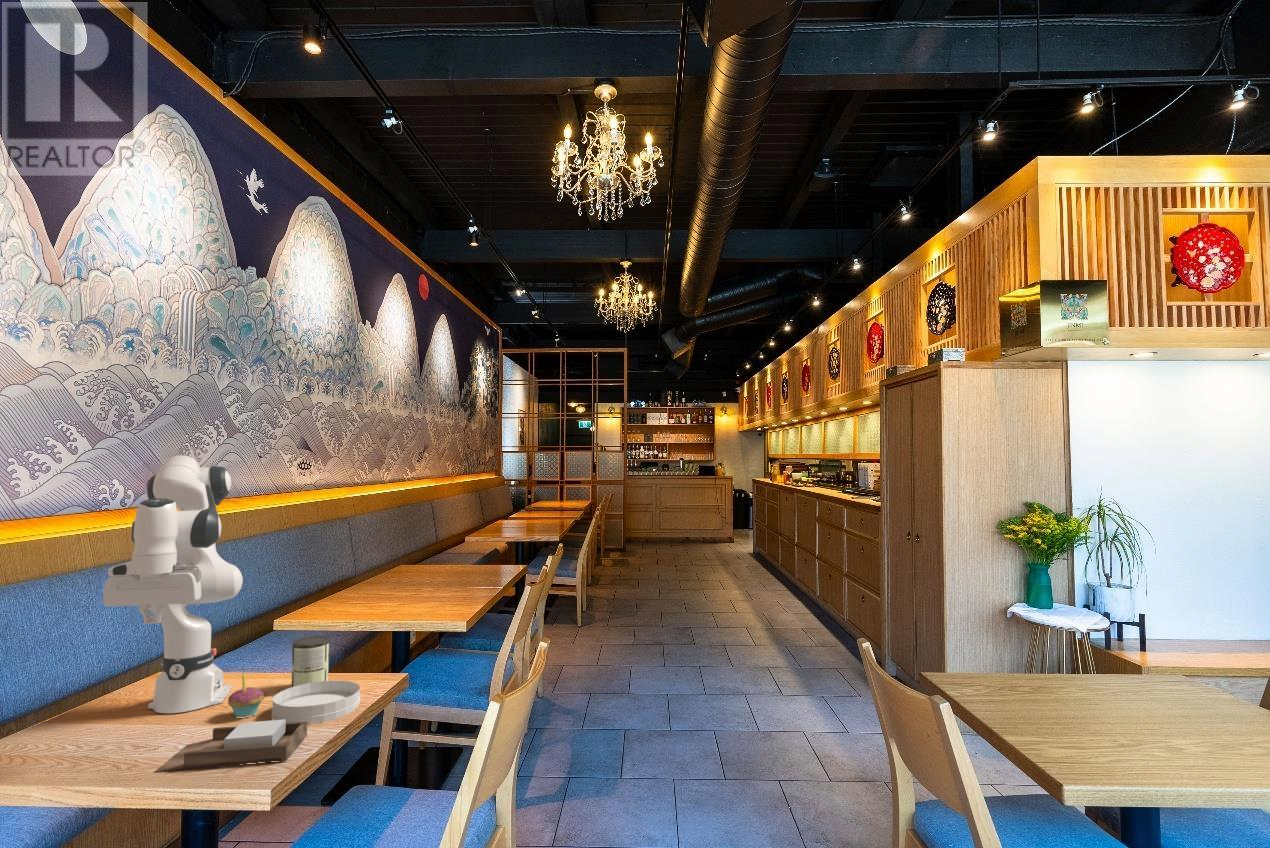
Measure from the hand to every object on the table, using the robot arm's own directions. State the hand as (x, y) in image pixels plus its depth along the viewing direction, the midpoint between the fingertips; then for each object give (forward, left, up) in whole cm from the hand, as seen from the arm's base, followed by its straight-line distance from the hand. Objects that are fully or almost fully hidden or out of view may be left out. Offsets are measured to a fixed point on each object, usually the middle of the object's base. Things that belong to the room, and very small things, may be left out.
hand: (152, 623), depth 160 cm
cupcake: (-18, +15, -29) cm, 38 cm away
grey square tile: (+7, +27, -28) cm, 40 cm away
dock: (+8, +23, -29) cm, 38 cm away
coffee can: (-40, +25, -29) cm, 56 cm away
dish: (-18, +33, -30) cm, 48 cm away
